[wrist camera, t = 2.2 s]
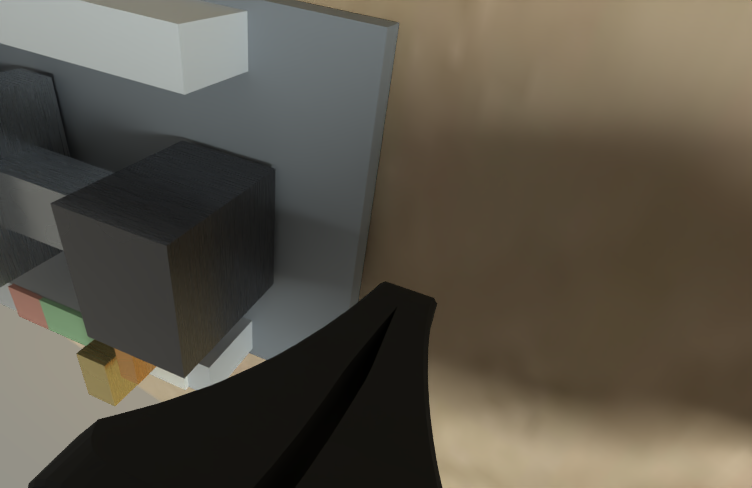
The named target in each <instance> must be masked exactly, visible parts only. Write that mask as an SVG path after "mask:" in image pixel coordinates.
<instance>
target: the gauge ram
mask: <svg viewBox="0 0 752 488" xmlns="http://www.w3.org/2000/svg"><path fill="white" fill-rule="evenodd" d="M275 172H276V169H274V168H271V167H268V166H264V165H261V164H258V163H254V162H251V161H248V160H245V159H241V158H238V157H235V156H232V155H228V154H225V153H222V152H218V151H215V150H212V149H209V148H205V147H202V146H199V145H196V144H192V143H189V142H186V141H180V142H178V143H176V144H174V145H171V146H169V147H167V148H165V149H163V150H161V151H159V152H157V153H155V154H153V155H150V156H148V157H146V158H144V159H142V160H140V161H138V162H136V163H134V164H132V165H130V166H127V167H125V168H123V169H121V170H119V171H117V172H112V171H109V170H106V169H103V168H100V167H97V166H94V165H91V164H88V163H85V162H82V161H79V160H76V159H73V158H71V157H70V153H69V149H68V145H67V141H66V136H65V132H64V128H63V124H62V120H61V116H60V111H59V107H58V103H57V99H56V95H55V91H54V86H53V82H52V78H51V77H49V76H45V75H42V74H38V73H35V72H31V71H28V70H25V69H21V68H19V69H14V70H9V71H5V72H0V287H2V286H4V285H5V284H7V283H9V282H11V281H12V280H14V279H16V278H18V277H19V276H21V275H23V274H24V273H26V272H28V271H30V270H31V269H33V268H35V267H37V266H38V265H40V264H42V263H43V262H45V261H47V260H49V259H50V258H52V257H54V256H56V255H57V254H59V253H61V252H62V251H64V254H65V258H66V261H67V265H68V268H69V272H70V275H71V279H72V282H73V286H74V290H75V293H76V297H77V300H78V304H79V307H80V311H81V314H82V318H83V322H84V325H85V329H86V332H87V336H88V337H90V338H92V339H95V340H97V341H99V342H102V343H104V344H106V345H108V346H111V347H113V348H114V349H115V353H116V358H117V362H118V366H119V370H120V374H121V377H123V378H125V379H127V380H129V381H131V382H134V383H136V384H139V383H140V382H141V381H142V380H143V379H144V378H145V377H146V376H147V375H148V374H149V373H150V372H151V371H153V370H154V369H155V368H156V367H159V368H161V369H163V370H166V371H168V372H170V373H172V374H175V375H177V376H179V377H182V378H184V379H185V377H186V376H187V375H188V374H189V373H190V372H191V371H192V370H193V369H194V368H195V367H196V366H197V365H198V364H199V363H200V362H201V360H202V359H203V358H204V357H205V356H206V355H207V354H208V353H209V352H210V351H211V350H212V349H213V348H214V347H215V346H216V345H217V343H218V342H219V341H220V340H221V339H222V338H223V337H224V336H225V335H226V334H227V333H228V332H229V331H230V330H231V329H232V328H233V326H234V325H235V324H236V323H237V322H238V321H239V320H240V319H241V318H242V317H243V316H244V315H245V314H246V313H247V312H248V311H249V309H250V308H251V307H252V306H253V305H254V304H255V303H256V302H257V301H258V300H259V299H260V298H261V297H262V296H263V295H264V294H265V292H266V291H267V290H268V289H269V288H270V287H271V286H272V285H273V284H274V229H275Z"/></svg>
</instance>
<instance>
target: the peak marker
mask: <svg viewBox="0 0 752 488" xmlns="http://www.w3.org/2000/svg"><path fill="white" fill-rule="evenodd" d="M77 357H78V360H79V363H80V367H81V370H82V373H83V377H84V380H85V383H86V386H87V390H88V393H89V394H90V395H92V396H94V397H96V398H98V399H100V400H102V401H105V402H107V403H109V404H111V405H113V406H116V405H117V404H118V403H119V402H120V401H121V400H122V399H123V398H124V397H125V396H126V395H127V394H128V393H129V392H130V391H131V390H133V389H134V388H135V387H136V386H137V385H138V384H136V383H134V382H131V381H129V380H127V379H125V378H123V377H121V374H120V370H119V366H118V362H117V358H116V353H115V349H114V348H113V347H111V346H108V345H106V344H104V343H102V342H99V341H97V340H95V339H94V340H93V341H92V342H90V343H89V344H88V345H87V346H85V347H84V348H83V349H82V350H80V351H79V352H78V353H77Z"/></svg>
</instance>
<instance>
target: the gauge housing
mask: <svg viewBox="0 0 752 488" xmlns="http://www.w3.org/2000/svg"><path fill="white" fill-rule="evenodd" d="M398 28H399V23H398V22H394V21H389V20H384V19H380V18H375V17H370V16H366V15H361V14H356V13H352V12H347V11H342V10H338V9H333V8H328V7H324V6H319V5H314V4H310V3H305V2H300V1H296V0H0V72H5V71H9V70H14V69H19V68H21V69H25V70H28V71H31V72H35V73H38V74H42V75H45V76H49V77H51V78H52V82H53V86H54V91H55V95H56V99H57V103H58V107H59V111H60V116H61V120H62V124H63V128H64V132H65V136H66V141H67V145H68V149H69V153H70V157H71V158H73V159H76V160H79V161H82V162H85V163H88V164H91V165H94V166H97V167H100V168H103V169H106V170H109V171H112V172H117V171H119V170H121V169H123V168H125V167H127V166H130V165H132V164H134V163H136V162H138V161H140V160H142V159H144V158H146V157H148V156H150V155H153V154H155V153H157V152H159V151H161V150H163V149H165V148H167V147H169V146H171V145H174V144H176V143H178V142H180V141H186V142H189V143H192V144H196V145H199V146H202V147H205V148H209V149H212V150H215V151H218V152H222V153H225V154H228V155H232V156H235V157H238V158H241V159H245V160H248V161H251V162H254V163H258V164H261V165H264V166H268V167H271V168H274V169H276V172H275V229H274V284H273V285H272V286H271V287H270V288H269V289H268V290H267V291H266V292H265V294H264V295H263V296H262V297H261V298H260V299H259V300H258V301H257V302H256V303H255V304H254V305H253V306H252V307H251V308H250V309H249V311H248V312H247V313H246V314H245V315H244V316H243V317H242V318H241V319H240V320H239V321H238V322H237V323H236V324H235V325H234V326H233V328H232V329H231V330H230V331H229V332H228V333H227V334H226V335H225V336H224V337H223V338H222V339H221V340H220V341H219V342H218V343H217V345H216V346H215V347H214V348H213V349H212V350H211V351H210V352H209V353H208V354H207V355H206V356H205V357H204V358H203V359H202V360H201V362H200V363H199V364H198V365H197V366H196V367H195V368H194V369H193V370H192V371H191V372H190V373H189V374H188V375H187V376H186V377H185V379H184V378H182V377H179V376H177V375H175V374H172V373H170V372H168V371H166V370H163V369H161V368H159V367H156V368H155V369H154V370H153V371H151V372H150V373H149V374H150V375H153V376H155V377H157V378H159V379H162V380H164V381H166V382H168V383H171V384H173V385H175V386H178V387H180V388H182V389H184V390H186V389H187V388H188V387H190V388H193V389H195V390H199V389H202V388H204V387H207V386H210V385H213V384H215V383H218V382H220V381H222V380H225V379H227V378H228V377H229V376H230V375H231V373H232V372H233V371H234V370H235V369H236V368H237V366H238V365H239V364H240V363H241V362H242V360H243V359H244V358H245V357H246V356H247V354H248V353H251V354H253V355H256V356H258V357H261V358H263V359H266V360H268V359H270V358H272V357H274V356H276V355H278V354H280V353H281V352H283V351H285V350H287V349H289V348H290V347H292V346H294V345H296V344H297V343H299V342H300V341H302V340H304V339H305V338H307V337H308V336H310V335H312V334H313V333H315V332H316V331H318V330H320V329H321V328H323V327H324V326H326V325H327V324H329V323H330V322H331V321H333V320H334V319H336V318H337V317H338V316H340V315H341V314H343V313H344V312H346V311H347V310H348V309H350V308H351V307H352V306H354V305H355V304H356V303H357V302H358V299H359V293H360V286H361V279H362V272H363V266H364V259H365V252H366V245H367V238H368V232H369V225H370V218H371V211H372V204H373V198H374V191H375V184H376V177H377V171H378V164H379V157H380V150H381V143H382V137H383V130H384V123H385V116H386V109H387V103H388V96H389V89H390V82H391V75H392V69H393V62H394V55H395V48H396V42H397V35H398ZM0 304H2V305H4V306H7V307H9V308H11V309H13V310H16V311H17V312H18V314H19V316H20V317H22V318H24V319H26V320H29V321H31V322H33V323H35V324H38V325H40V326H42V327H44V328H47V329H49V330H51V331H53V332H56V333H58V334H60V335H62V336H65V337H67V338H69V339H71V340H74V341H76V342H78V343H80V344H83V345H85V346H87V345H88V344H89V343H90V342H92V341H93V340H94V339H92V338H90V337H88V336H87V332H86V329H85V325H84V322H83V318H82V314H81V311H80V307H79V304H78V300H77V297H76V293H75V290H74V286H73V282H72V279H71V275H70V272H69V268H68V265H67V261H66V258H65V254H64V251H62V252H61V253H59V254H57V255H56V256H54V257H52V258H50V259H49V260H47V261H45V262H43V263H42V264H40V265H38V266H37V267H35V268H33V269H31V270H30V271H28V272H26V273H24V274H23V275H21V276H19V277H18V278H16V279H14V280H12V281H11V282H9V283H7V284H5V285H4V286H2V287H0Z"/></svg>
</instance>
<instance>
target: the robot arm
mask: <svg viewBox="0 0 752 488" xmlns="http://www.w3.org/2000/svg"><path fill="white" fill-rule="evenodd" d="M436 306H437V303H436V301H435V299H434V298H432V297H429V296H426V295H423V294H420V293H418V292H415V291H412V290H409V289H406V288H403V287H400V286H397V285H394V284H391V283H388V282H383V283H381V284H379V285H378V286H377V287H376V288H375V289H374V290H372V291H371V292H370V293H369V294H368V295H366V296H365V297H364V298H363V299H361V300H360V301H359V302H357V303H356V304H355V305H354V306H352V307H351V308H350V309H348V310H347V311H346V312H344V313H343V314H341V315H340V316H338V317H337V318H336V319H334V320H333V321H331V322H330V323H329V324H327V325H326V326H324V327H323V328H321V329H320V330H318V331H316V332H315V333H313V334H312V335H310V336H308V337H307V338H305V339H304V340H302V341H300V342H299V343H297V344H296V345H294V346H292V347H290V348H289V349H287V350H285V351H283V352H281V353H280V354H278V355H276V356H274V357H272V358H270V359H268V360H266V361H264V362H262V363H260V364H258V365H256V366H254V367H252V368H250V369H247V370H245V371H243V372H241V373H239V374H236V375H234V376H232V377H230V378H227V379H225V380H222V381H220V382H218V383H215V384H213V385H210V386H207V387H204V388H202V389H199V390H196V391H193V392H190V393H188V394H185V395H182V396H179V397H176V398H173V399H171V400H167V401H164V402H161V403H158V404H155V405H151V406H147V407H144V408H140V409H136V410H133V411H129V412H125V413H121V414H118V415H114V416H110V417H106V418H102V419H99V420H97V421H96V422H95V423H94V424H92V425H91V426H90V427H89V428H88V429H86V430H85V431H84V432H83V433H81V434H80V435H79V436H78V437H77V438H76V439H75V440H74V441H72V442H71V443H70V444H69V445H68V446H67V447H66V448H65V449H64V450H63V451H62V452H61V453H60V454H59V455H58V456H57V457H56V458H55V459H54V460H53V461H52V462H51V463H50V464H49V465H48V466H47V467H45V468H44V469H43V470H42V471H41V472H40V473H39V474H38V475H37V476H36V477H35V478H34V479H33V480H32V481H31V482H30V483H29V485H28V488H442V484H441V480H440V475H439V470H438V466H437V460H436V454H435V447H434V441H433V434H432V426H431V417H430V407H429V392H428V344H429V334H430V328H431V324H432V321H433V317H434V313H435V309H436Z"/></svg>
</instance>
